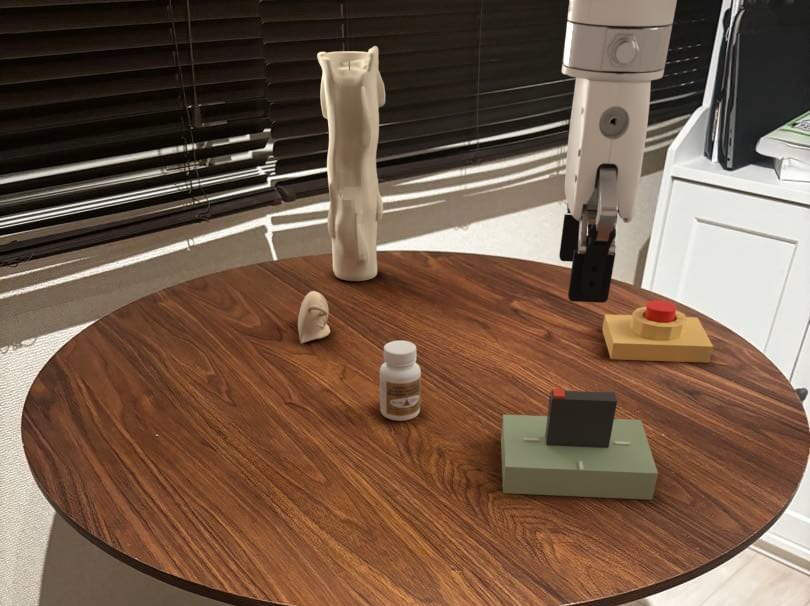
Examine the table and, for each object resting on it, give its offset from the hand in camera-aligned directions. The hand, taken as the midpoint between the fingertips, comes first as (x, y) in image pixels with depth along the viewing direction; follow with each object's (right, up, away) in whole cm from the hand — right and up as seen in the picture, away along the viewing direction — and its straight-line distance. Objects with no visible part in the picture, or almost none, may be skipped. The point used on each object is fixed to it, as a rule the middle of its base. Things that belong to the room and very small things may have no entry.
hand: (581, 279), depth 70 cm
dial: (+1, -13, +8) cm, 16 cm away
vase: (-23, +17, +53) cm, 60 cm away
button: (+16, +5, +31) cm, 35 cm away
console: (+1, -16, +10) cm, 19 cm away
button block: (+16, +2, +33) cm, 37 cm away
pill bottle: (-16, -9, +19) cm, 26 cm away
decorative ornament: (-27, +4, +36) cm, 45 cm away
